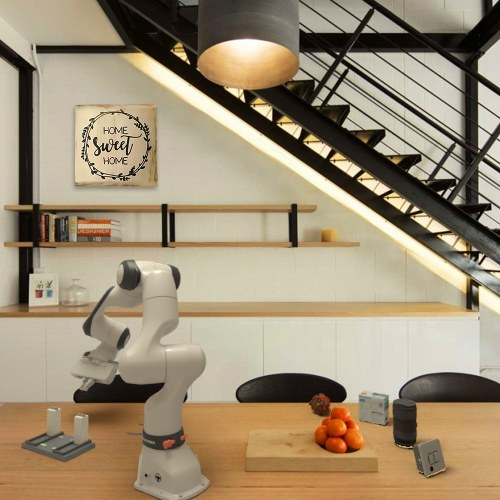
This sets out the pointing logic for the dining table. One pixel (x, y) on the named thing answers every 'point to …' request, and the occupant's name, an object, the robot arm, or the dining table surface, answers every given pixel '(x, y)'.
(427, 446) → the electrical switch
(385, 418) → the light bulb box
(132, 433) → the pliers
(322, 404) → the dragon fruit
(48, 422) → the tab far
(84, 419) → the tab near
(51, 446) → the grey rectangular board
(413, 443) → the camera lens
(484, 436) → the dining table surface
